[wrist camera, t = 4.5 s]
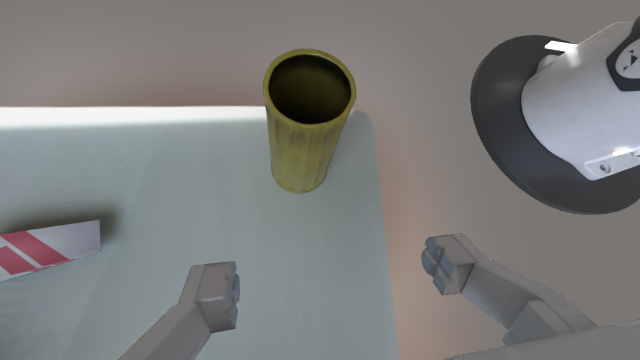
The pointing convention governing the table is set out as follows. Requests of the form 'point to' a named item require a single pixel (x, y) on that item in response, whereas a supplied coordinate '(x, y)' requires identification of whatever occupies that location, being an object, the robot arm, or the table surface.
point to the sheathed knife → (46, 247)
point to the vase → (305, 115)
